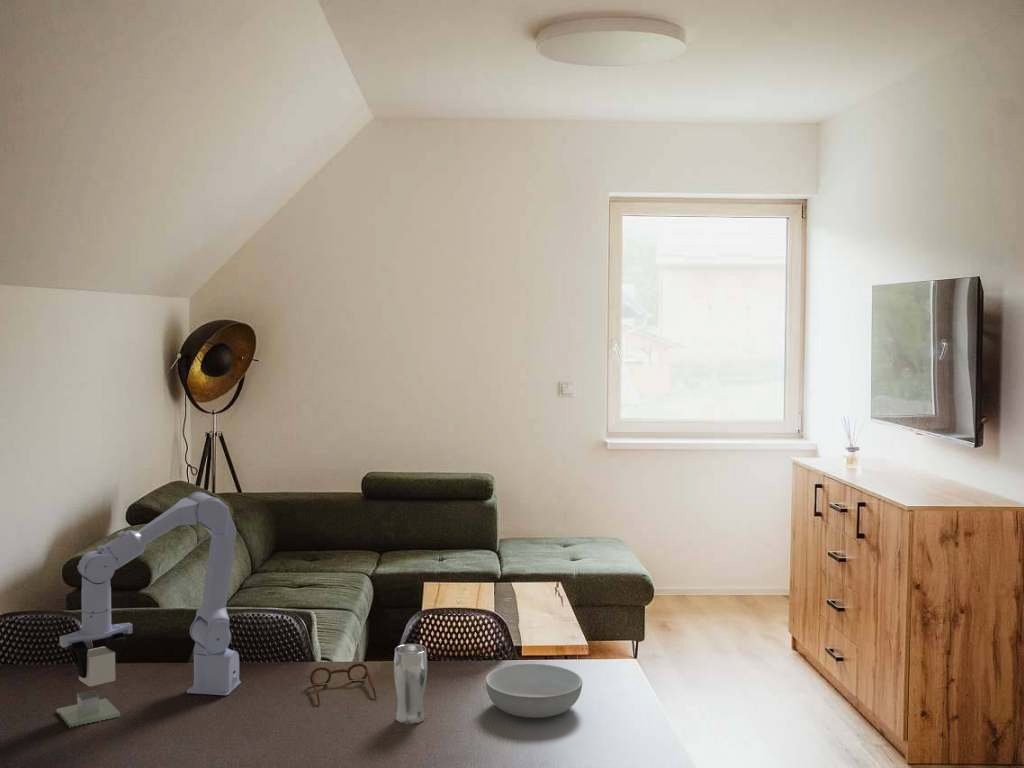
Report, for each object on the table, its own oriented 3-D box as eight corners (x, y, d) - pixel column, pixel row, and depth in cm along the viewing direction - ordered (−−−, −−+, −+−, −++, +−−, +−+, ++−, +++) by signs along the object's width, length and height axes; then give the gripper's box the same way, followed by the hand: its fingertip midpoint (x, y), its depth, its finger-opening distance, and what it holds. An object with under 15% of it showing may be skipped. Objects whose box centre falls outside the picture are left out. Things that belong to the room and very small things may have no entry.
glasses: (367, 682, 234) (367, 661, 234) (378, 702, 222) (378, 680, 222) (309, 688, 230) (309, 666, 230) (317, 709, 218) (317, 686, 218)
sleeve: (115, 680, 213) (115, 652, 212) (89, 686, 209) (89, 658, 209) (104, 673, 217) (104, 646, 216) (79, 679, 213) (78, 651, 212)
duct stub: (105, 701, 219) (105, 682, 219) (120, 716, 212) (120, 696, 211) (56, 712, 213) (56, 692, 213) (69, 728, 205) (69, 707, 205)
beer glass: (421, 727, 208) (421, 655, 207) (389, 723, 209) (389, 652, 208) (430, 714, 215) (431, 644, 214) (399, 711, 216) (399, 642, 215)
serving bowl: (601, 709, 219) (602, 678, 218) (537, 738, 203) (537, 705, 203) (530, 685, 233) (530, 655, 232) (464, 710, 218) (465, 678, 217)
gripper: (122, 599, 220) (122, 660, 221) (53, 612, 210) (54, 676, 210) (136, 606, 215) (137, 668, 216) (66, 619, 205) (67, 685, 205)
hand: (97, 673), depth 213 cm, fingers closed on sleeve, 5 cm apart
